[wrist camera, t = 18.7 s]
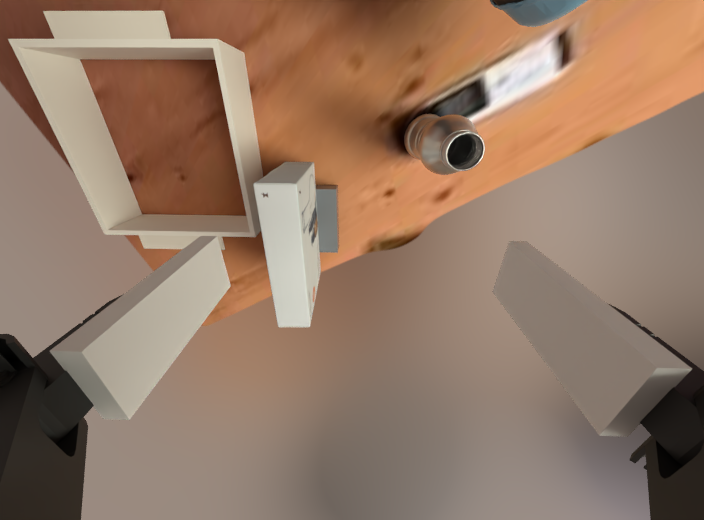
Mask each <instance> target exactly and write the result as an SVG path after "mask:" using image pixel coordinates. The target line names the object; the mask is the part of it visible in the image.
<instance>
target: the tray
mask: <svg viewBox="0 0 704 520" xmlns="http://www.w3.org/2000/svg"><path fill="white" fill-rule="evenodd" d="M43 13H44V15H45V17H46V20H47V22H48V24H49V27H50V29H51V31H52V34H53V36H54V38H55V39H8V40H9V42H10V44H11V46H12V48H13V50H14V52H15V54H16V56H17V58H18V60H19V62H20V64H21V66H22V68H23V70H24V73H25V75H26V77H27V79H28V81H29V83H30V85H31V87H32V89H33V91H34V93H35V95H36V97H37V99H38V101H39V103H40V105H41V107H42V109H43V111H44V113H45V115H46V117H47V119H48V121H49V123H50V125H51V127H52V129H53V131H54V133H55V135H56V137H57V139H58V141H59V143H60V145H61V147H62V149H63V151H64V153H65V155H66V157H67V159H68V161H69V163H70V165H71V167H72V170H73V172H74V174H75V176H76V178H77V180H78V182H79V183H80V186H81V188H82V190H83V192H84V194H85V196H86V198H87V200H88V202H89V204H90V206H91V208H92V210H93V212H94V214H95V216H96V218H97V220H98V222H99V224H100V226H101V228H102V230H103V232H104V234H105V235H107V234H108V235H139V237H140V240H141V242H142V244H143V247H144V248H149V249H184V248H185V247H187V246H188V245H189V244H191V243H192V242H193V241H195V240H196V239H197V238H199V237H200V236H217V237H218V241H219V245H220V248H221V250H225V246H224V242H223V238H222V237H256V236H257V235H258V234H259V232H260V231H261V226H260V220H259V214H258V209H257V203H256V197H255V192H254V186H253V184H254V183H255V182H256V181H259V180H260V179H262V178H263V171H262V165H261V158H260V152H259V146H258V139H257V133H256V126H255V120H254V113H253V107H252V100H251V94H250V88H249V81H248V75H247V68H246V62H245V55H244V52H242V51H240V50H238V49H236V48H234V47H232V46H230V45H228V44H226V43H225V42H223V41H221V40H219V39H171V37H170V33H169V29H168V25H167V21H166V18H165V14H164V11H43ZM80 59H159V60H215V61H216V66H217V71H218V76H219V81H220V86H221V91H222V96H223V101H224V106H225V111H226V116H227V121H228V126H229V131H230V136H231V141H232V146H233V151H234V156H235V161H236V166H237V171H238V176H239V181H240V186H241V191H242V196H243V201H244V206H245V211H246V216H231V215H167V214H142V212H141V210H140V207H139V205H138V202H137V200H136V198H135V195H134V193H133V190H132V188H131V185H130V183H129V180H128V178H127V175H126V173H125V170H124V168H123V165H122V163H121V160H120V158H119V155H118V153H117V150H116V148H115V145H114V143H113V140H112V138H111V135H110V133H109V130H108V128H107V125H106V123H105V120H104V118H103V115H102V113H101V110H100V108H99V106H98V103H97V101H96V98H95V96H94V93H93V91H92V88H91V86H90V83H89V81H88V78H87V76H86V73H85V71H84V68H83V66H82V63H81V61H80Z"/></svg>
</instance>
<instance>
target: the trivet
mask: <svg viewBox="0 0 704 520" xmlns="http://www.w3.org/2000/svg"><path fill="white" fill-rule="evenodd" d="M315 186H316V203H317V219H318V236H319V252H338V248H339V225H338V185H315Z"/></svg>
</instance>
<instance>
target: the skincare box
mask: <svg viewBox="0 0 704 520" xmlns="http://www.w3.org/2000/svg"><path fill="white" fill-rule="evenodd" d="M253 186H254V192H255V197H256V203H257V209H258V214H259V220H260V226H261V232H262V237H263V243H264V249H265V255H266V261H267V267H268V273H269V278H270V284H271V290H272V295H273V301H274V306H275V312H276V318H277V323H278V327H310V323H311V318H312V313H313V308H314V302H315V298H316V292H317V287H318V282H319V276H320V272H321V270H320V252H319V236H318V219H317V203H316V186H315V170H314V162H284V163H283V164H281V165H280V166H279V167H277V168H275V169H274V170H272V171H271V172H269V173H268V174H267V175H266V176H265V177H263V178H262V179H260V180H259V181H256V182H255V183H254V184H253Z"/></svg>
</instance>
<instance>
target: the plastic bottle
mask: <svg viewBox="0 0 704 520" xmlns="http://www.w3.org/2000/svg"><path fill="white" fill-rule="evenodd" d="M404 143H405V147H406V150H407V151H408V153H409V154H410V155H411V156H412V157H414V158H416V159H419V160H421V161H422V163H423V164H424V166H425V167H426V168H427V169H428V170H430V171H431V172H433V173H436V174H440V175H448V174H453V173H456V172H458V171H466V170H469V169H472V168H473V167H475V166H476V165H477V164H478V163H479V162H480V161H481V159H482V157H483V155H484V151H485V145H484V141H483V139H482V138H481V137H480V136H479V135H478V132H477V130H476V128H475V126H474V125H473V123H472V122H471V121H470V120H469V119H467V118H465V117H463V116H460V115H446V116H442V117H439V116H436V115H433V114H424V115H421V116H419V117H417V118H415V119H414V120H413V121H412V122H411V123H410V124H409V126H408V127H407V129H406V132H405V136H404Z"/></svg>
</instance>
